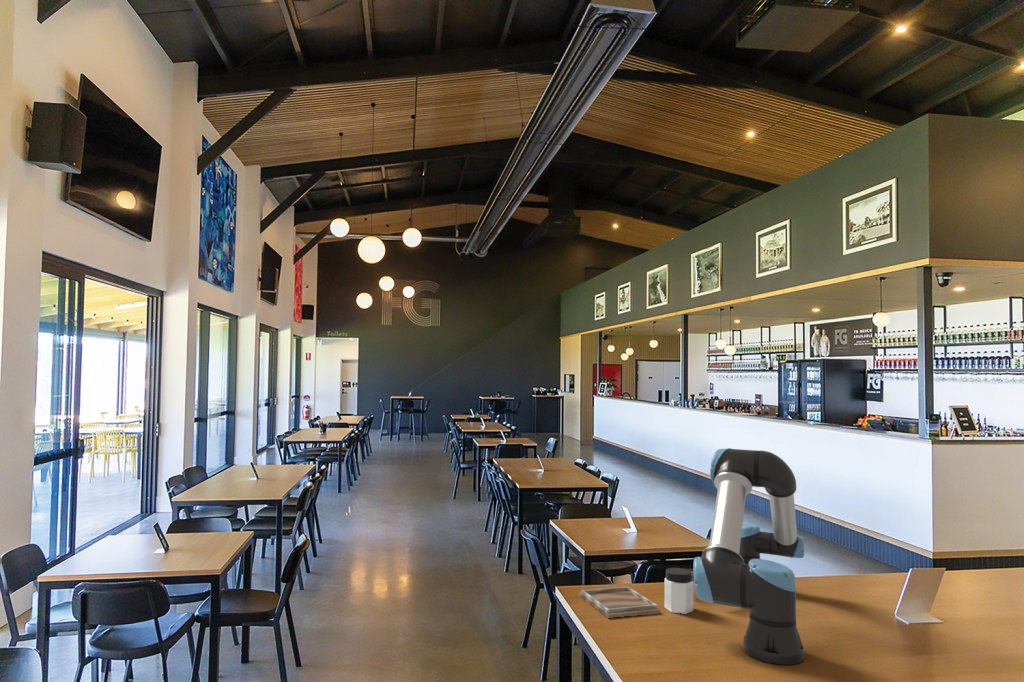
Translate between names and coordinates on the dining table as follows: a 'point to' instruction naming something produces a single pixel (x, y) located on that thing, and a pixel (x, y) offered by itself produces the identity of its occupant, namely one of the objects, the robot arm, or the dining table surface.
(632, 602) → the tray
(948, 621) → the dining table surface
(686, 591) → the jar
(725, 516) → the robot arm
